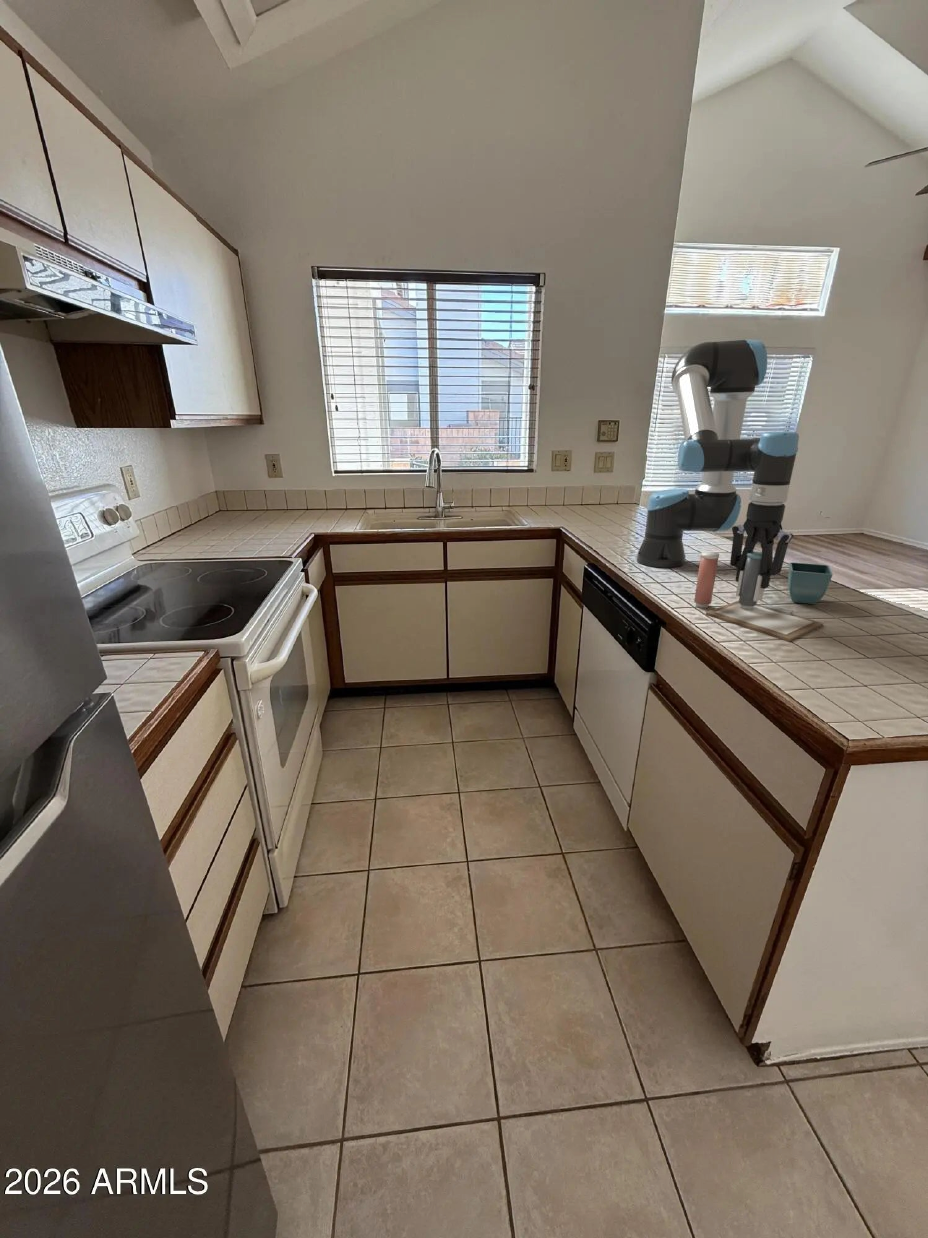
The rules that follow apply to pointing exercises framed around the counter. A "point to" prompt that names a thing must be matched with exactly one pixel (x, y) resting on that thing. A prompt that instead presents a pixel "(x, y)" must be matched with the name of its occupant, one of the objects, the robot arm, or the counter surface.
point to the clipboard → (766, 620)
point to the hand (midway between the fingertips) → (748, 597)
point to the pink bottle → (706, 579)
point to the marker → (750, 580)
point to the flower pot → (808, 582)
